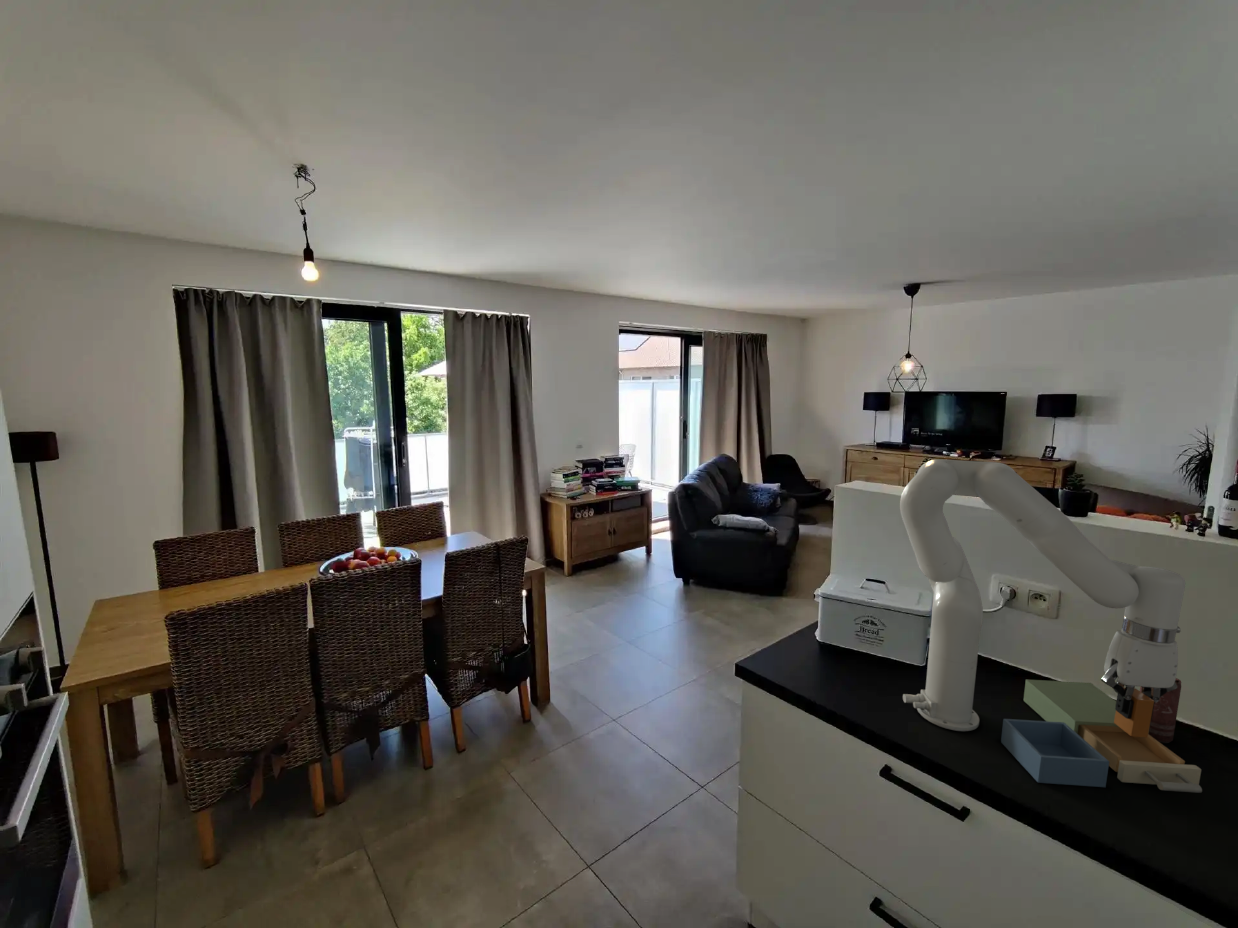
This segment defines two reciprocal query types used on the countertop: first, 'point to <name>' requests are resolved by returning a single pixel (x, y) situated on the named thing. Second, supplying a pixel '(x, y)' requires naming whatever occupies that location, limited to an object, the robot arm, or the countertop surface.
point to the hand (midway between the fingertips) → (1132, 714)
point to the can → (1165, 715)
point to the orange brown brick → (1137, 716)
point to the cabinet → (1070, 703)
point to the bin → (1054, 753)
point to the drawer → (1141, 759)
